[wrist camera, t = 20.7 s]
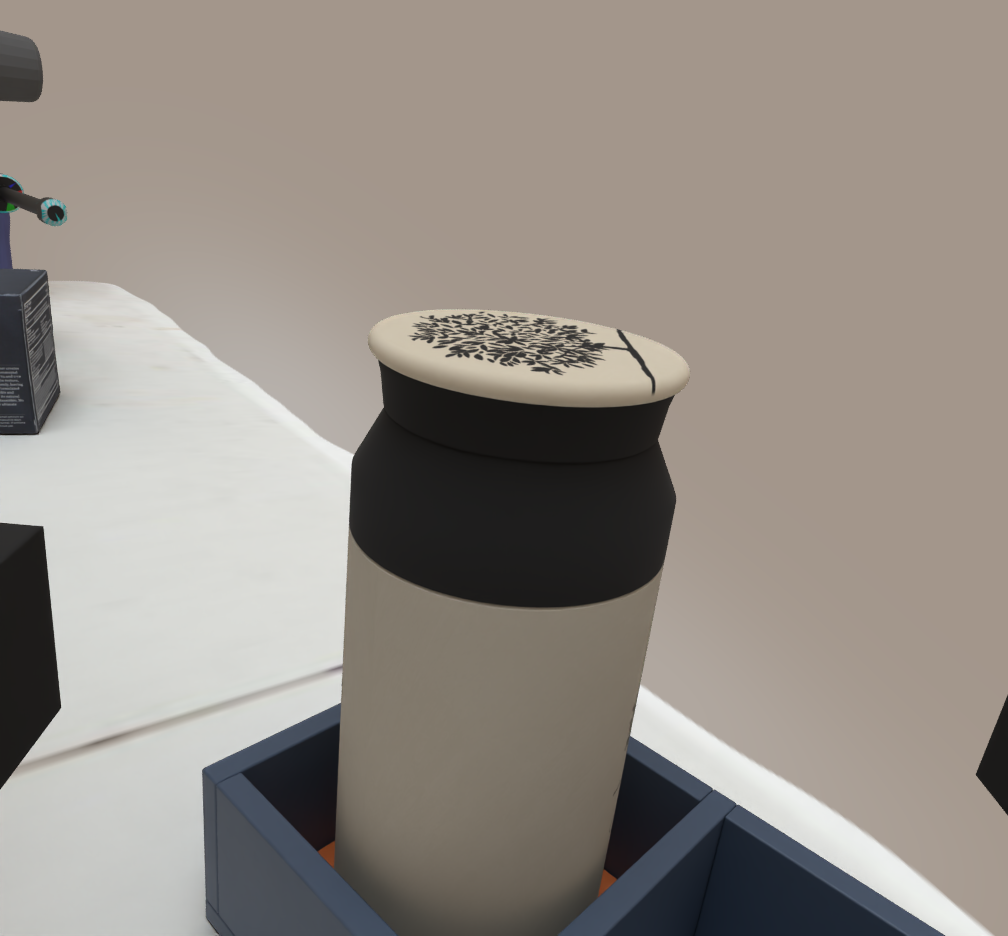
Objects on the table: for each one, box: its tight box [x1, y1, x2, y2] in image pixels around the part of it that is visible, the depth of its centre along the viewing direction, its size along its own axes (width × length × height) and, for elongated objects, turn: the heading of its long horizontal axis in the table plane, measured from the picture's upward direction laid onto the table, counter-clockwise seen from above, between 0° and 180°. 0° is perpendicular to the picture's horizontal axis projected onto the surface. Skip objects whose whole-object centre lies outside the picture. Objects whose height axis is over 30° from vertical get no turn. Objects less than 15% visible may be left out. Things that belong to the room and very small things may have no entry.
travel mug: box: [334, 309, 690, 936], centre depth 22 cm, size 8×8×18 cm
